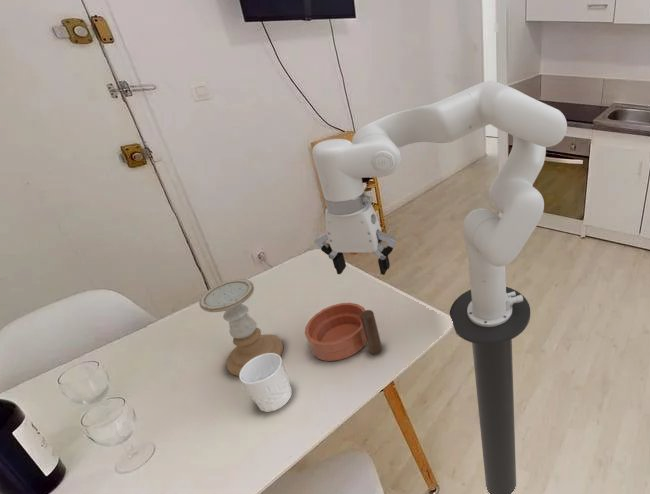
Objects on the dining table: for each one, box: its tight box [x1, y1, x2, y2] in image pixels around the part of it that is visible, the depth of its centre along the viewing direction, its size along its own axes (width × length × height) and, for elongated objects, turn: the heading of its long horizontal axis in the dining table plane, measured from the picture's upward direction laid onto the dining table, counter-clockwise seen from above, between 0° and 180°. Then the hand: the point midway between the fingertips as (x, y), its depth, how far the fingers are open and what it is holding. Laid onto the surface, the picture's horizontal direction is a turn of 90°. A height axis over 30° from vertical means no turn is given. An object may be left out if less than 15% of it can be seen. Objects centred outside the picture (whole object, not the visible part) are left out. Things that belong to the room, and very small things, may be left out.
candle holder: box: [199, 278, 284, 377], centre depth 96 cm, size 12×12×20 cm
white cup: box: [238, 353, 293, 413], centre depth 88 cm, size 8×8×10 cm
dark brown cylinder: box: [360, 309, 383, 356], centre depth 98 cm, size 3×3×12 cm
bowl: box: [304, 302, 368, 362], centre depth 103 cm, size 15×15×6 cm
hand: (363, 270), depth 90 cm, fingers open, 9 cm apart
